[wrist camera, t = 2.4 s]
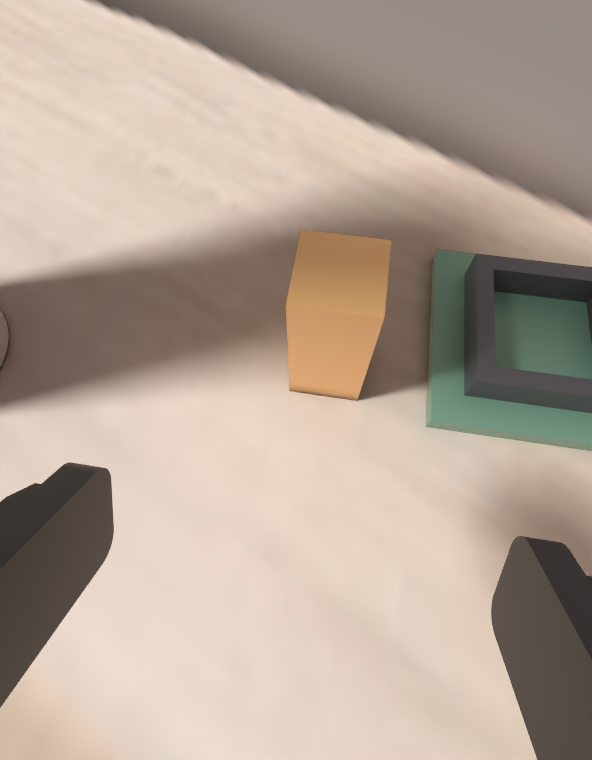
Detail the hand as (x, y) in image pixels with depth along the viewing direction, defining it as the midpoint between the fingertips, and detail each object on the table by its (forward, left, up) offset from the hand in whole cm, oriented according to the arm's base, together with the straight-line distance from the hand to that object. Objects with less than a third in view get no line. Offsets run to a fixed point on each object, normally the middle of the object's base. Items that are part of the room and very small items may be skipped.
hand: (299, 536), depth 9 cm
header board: (+12, +14, -15) cm, 24 cm away
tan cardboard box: (0, +11, -15) cm, 19 cm away
